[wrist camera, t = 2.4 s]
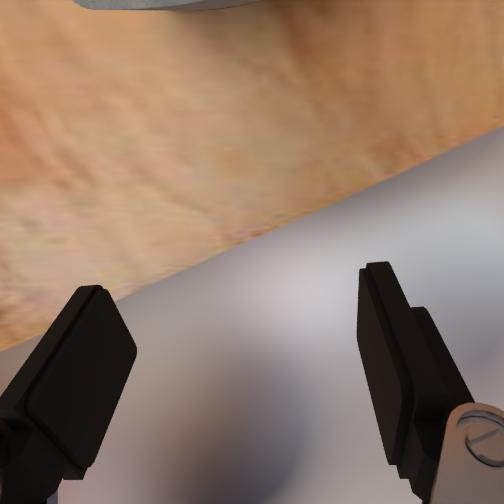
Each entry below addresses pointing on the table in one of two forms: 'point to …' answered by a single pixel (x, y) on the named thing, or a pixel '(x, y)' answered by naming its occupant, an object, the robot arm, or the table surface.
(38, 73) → the table surface
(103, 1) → the hip flask
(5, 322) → the table surface
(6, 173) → the table surface
